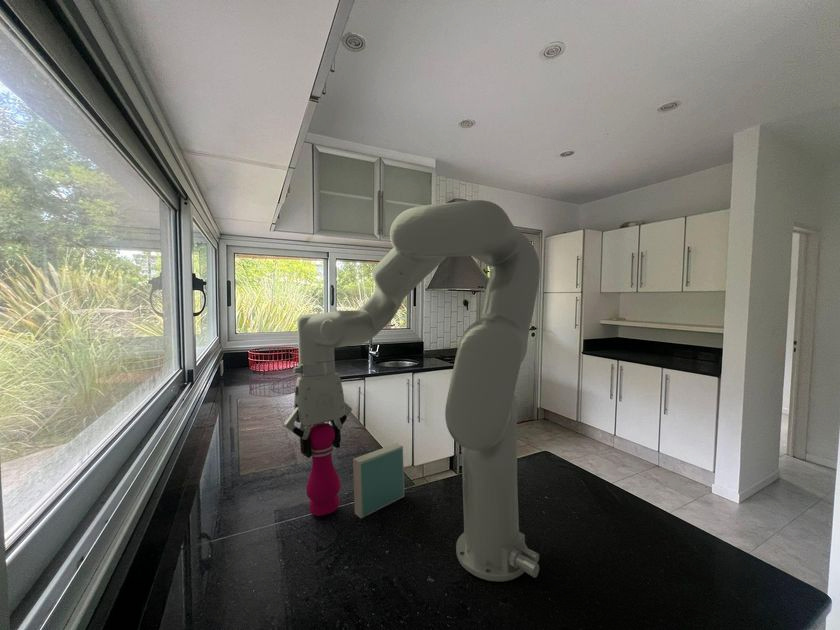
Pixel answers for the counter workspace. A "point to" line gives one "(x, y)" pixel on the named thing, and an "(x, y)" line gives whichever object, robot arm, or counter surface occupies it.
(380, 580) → the counter surface
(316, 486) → the pepper mill
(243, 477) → the counter surface
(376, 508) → the glazed tile
